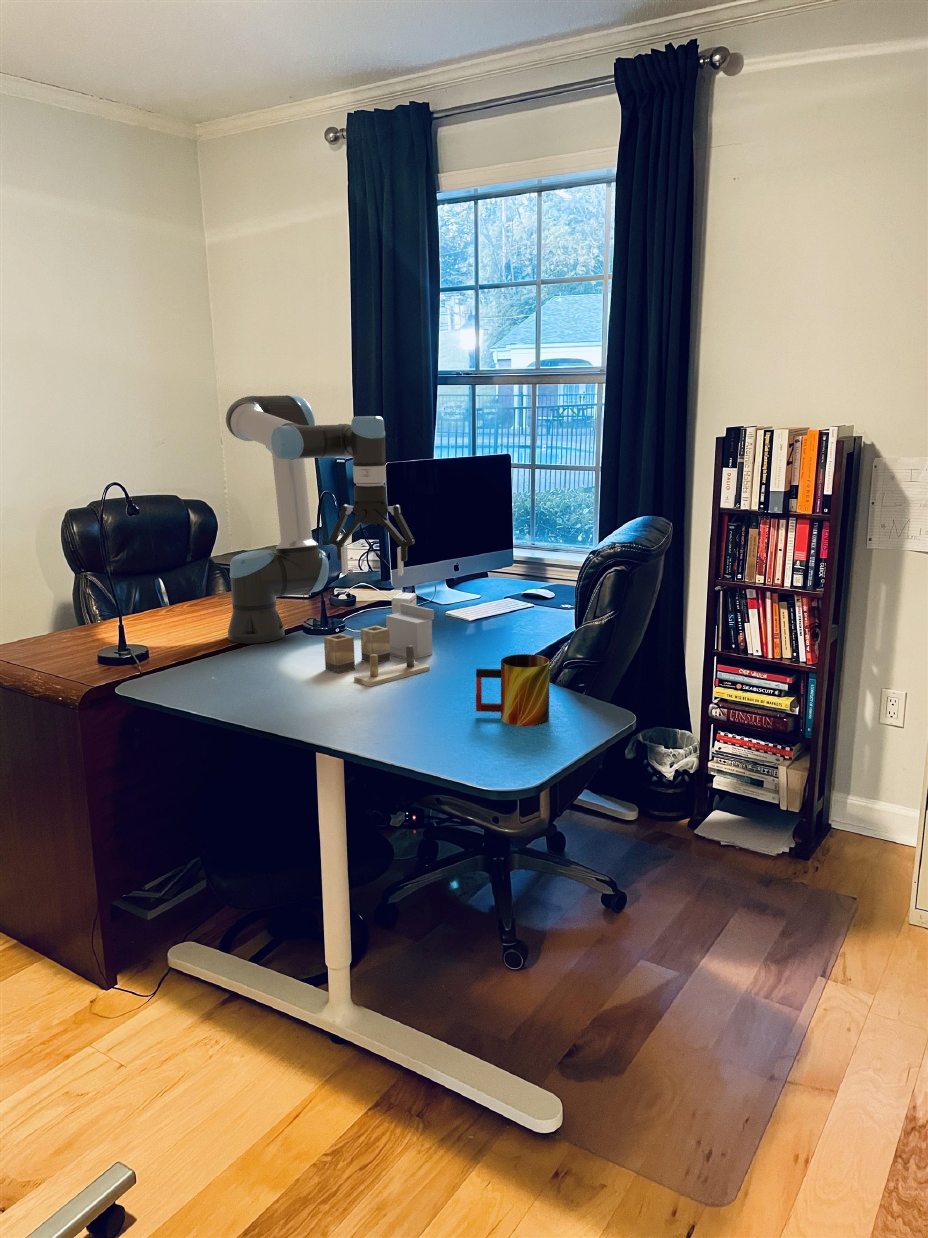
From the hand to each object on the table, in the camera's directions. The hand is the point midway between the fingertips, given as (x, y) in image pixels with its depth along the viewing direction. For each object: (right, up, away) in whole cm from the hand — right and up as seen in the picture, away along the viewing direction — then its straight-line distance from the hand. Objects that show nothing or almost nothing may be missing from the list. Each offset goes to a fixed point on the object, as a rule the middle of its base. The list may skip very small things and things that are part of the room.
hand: (372, 574), depth 213 cm
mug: (+32, -31, -33) cm, 56 cm away
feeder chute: (+7, -19, +16) cm, 26 cm away
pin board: (+5, -24, -3) cm, 25 cm away
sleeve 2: (0, -21, +9) cm, 23 cm away
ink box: (+6, -16, +31) cm, 36 cm away
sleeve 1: (-8, -23, +2) cm, 24 cm away
